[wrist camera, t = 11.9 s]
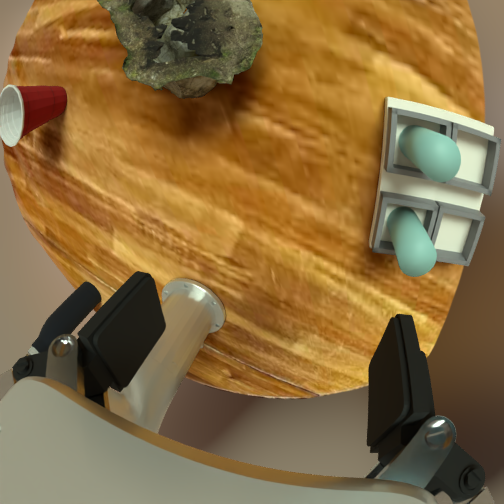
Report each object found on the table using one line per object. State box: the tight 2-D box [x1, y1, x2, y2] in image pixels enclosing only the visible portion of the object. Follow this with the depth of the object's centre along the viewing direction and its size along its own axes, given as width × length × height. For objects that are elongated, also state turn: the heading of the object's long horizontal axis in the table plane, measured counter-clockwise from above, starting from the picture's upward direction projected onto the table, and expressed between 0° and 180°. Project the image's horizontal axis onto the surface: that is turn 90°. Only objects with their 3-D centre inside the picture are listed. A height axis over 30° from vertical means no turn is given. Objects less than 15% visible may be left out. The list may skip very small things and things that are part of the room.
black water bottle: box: [12, 282, 101, 368], centre depth 47 cm, size 6×6×30 cm
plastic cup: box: [0, 85, 67, 147], centre depth 28 cm, size 11×11×12 cm
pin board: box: [369, 97, 501, 277], centre depth 22 cm, size 18×14×10 cm
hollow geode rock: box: [97, 0, 263, 99], centre depth 18 cm, size 28×13×15 cm
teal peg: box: [399, 125, 461, 182], centre depth 20 cm, size 4×4×8 cm
